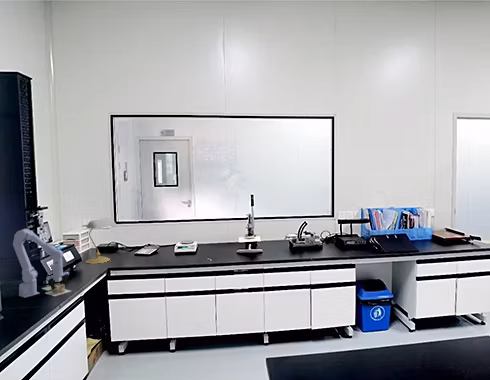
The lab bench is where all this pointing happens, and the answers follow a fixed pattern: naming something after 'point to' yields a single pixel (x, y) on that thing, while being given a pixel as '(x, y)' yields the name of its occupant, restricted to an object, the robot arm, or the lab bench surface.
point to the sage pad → (47, 288)
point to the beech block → (58, 288)
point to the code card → (57, 294)
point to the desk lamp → (92, 224)
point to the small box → (56, 278)
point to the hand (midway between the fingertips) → (58, 287)
